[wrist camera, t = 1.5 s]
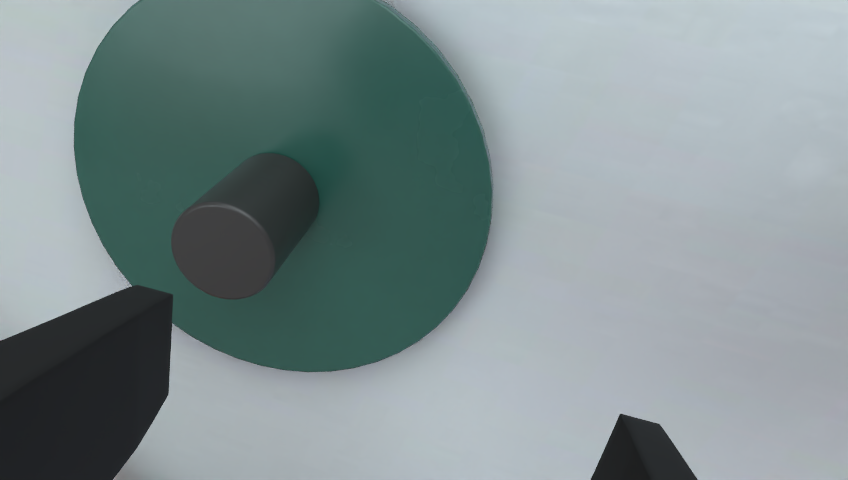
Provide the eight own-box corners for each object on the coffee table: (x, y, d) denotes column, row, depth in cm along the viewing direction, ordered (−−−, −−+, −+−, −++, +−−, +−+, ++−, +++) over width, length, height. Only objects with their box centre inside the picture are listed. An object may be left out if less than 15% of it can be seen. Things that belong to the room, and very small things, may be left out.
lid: (266, 403, 22) (206, 511, 18) (18, 117, 19) (-122, 170, 15) (573, 247, 18) (583, 341, 14) (324, -145, 15) (245, -169, 11)
